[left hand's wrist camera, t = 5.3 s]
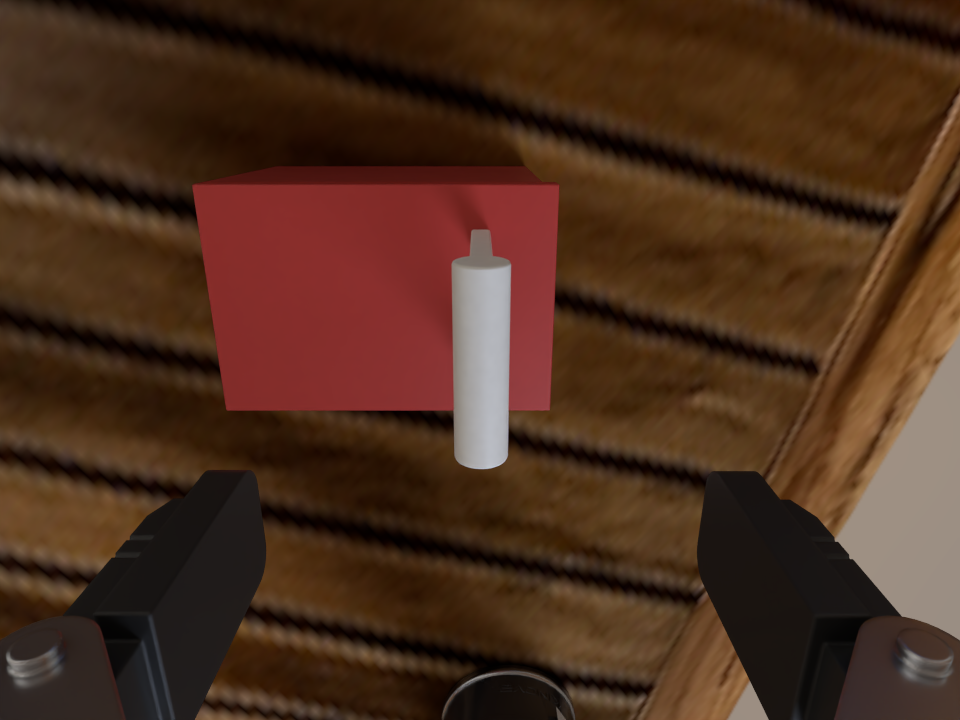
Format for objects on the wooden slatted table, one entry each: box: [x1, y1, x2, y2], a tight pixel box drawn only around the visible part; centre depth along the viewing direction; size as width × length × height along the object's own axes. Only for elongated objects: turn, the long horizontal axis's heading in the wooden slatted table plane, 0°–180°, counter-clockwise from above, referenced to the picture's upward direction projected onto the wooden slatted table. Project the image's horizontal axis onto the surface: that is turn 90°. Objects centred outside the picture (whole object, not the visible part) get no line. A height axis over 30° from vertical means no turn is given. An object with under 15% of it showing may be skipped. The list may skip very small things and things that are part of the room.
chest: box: [206, 166, 541, 182], centre depth 30 cm, size 13×9×9 cm
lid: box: [192, 182, 559, 469], centre depth 22 cm, size 13×9×8 cm
